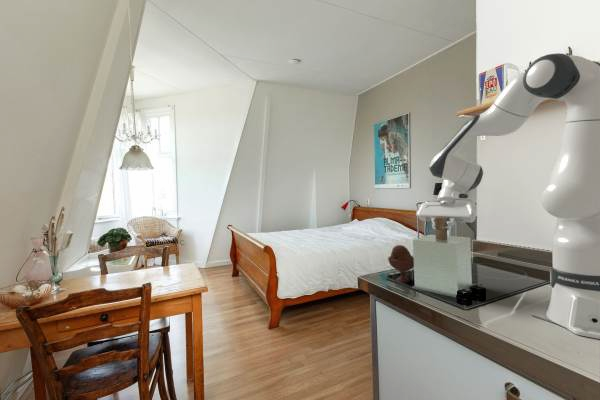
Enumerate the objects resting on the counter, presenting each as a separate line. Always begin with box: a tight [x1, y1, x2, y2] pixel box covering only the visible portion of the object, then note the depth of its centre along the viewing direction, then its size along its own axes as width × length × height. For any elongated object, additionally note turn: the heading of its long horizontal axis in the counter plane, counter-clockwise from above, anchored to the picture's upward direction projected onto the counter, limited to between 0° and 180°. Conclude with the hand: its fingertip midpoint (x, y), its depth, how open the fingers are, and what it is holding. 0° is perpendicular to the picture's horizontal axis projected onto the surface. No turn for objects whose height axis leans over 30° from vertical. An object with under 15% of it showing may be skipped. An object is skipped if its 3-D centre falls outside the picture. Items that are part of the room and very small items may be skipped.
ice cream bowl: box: [387, 244, 414, 283], centre depth 115 cm, size 11×11×15 cm
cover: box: [412, 217, 473, 296], centre depth 105 cm, size 15×15×26 cm
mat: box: [411, 283, 474, 298], centre depth 106 cm, size 17×17×1 cm
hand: (440, 228), depth 105 cm, fingers closed on cover, 3 cm apart
